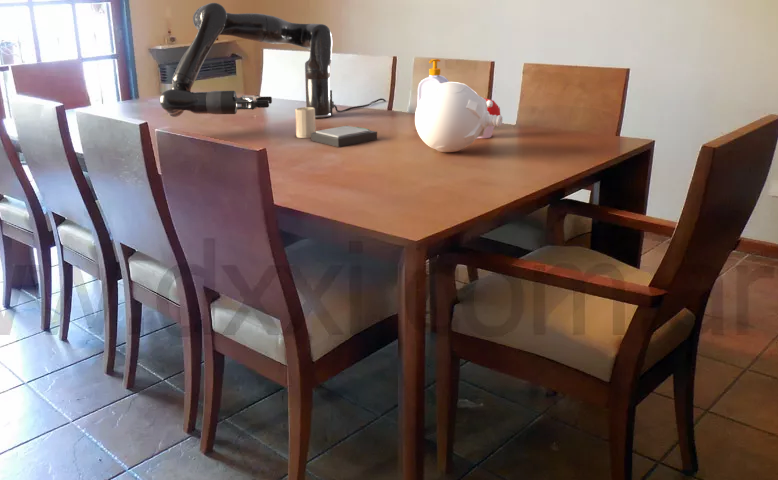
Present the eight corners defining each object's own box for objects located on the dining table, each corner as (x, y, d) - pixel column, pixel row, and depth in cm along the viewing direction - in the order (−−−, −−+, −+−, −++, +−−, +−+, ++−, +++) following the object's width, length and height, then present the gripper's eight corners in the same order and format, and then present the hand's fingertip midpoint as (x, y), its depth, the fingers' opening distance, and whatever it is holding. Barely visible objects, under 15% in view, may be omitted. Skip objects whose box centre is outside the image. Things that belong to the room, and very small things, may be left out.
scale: (349, 133, 229) (349, 124, 228) (377, 139, 219) (377, 129, 218) (311, 140, 221) (311, 130, 219) (338, 147, 210) (338, 137, 209)
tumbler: (307, 133, 232) (307, 106, 228) (319, 136, 227) (318, 108, 223) (292, 136, 228) (291, 108, 224) (303, 138, 223) (302, 111, 220)
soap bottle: (415, 131, 230) (417, 59, 220) (424, 127, 235) (427, 57, 225) (439, 133, 225) (442, 60, 215) (448, 129, 230) (452, 58, 221)
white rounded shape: (429, 142, 213) (432, 76, 205) (508, 149, 200) (515, 80, 192) (402, 155, 198) (404, 84, 190) (486, 163, 185) (492, 89, 177)
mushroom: (461, 133, 224) (463, 95, 219) (494, 132, 224) (497, 94, 219) (468, 140, 214) (470, 100, 209) (503, 138, 214) (506, 99, 209)
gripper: (216, 93, 216) (267, 93, 215) (224, 88, 229) (272, 87, 228) (218, 117, 219) (268, 117, 218) (226, 110, 232) (273, 110, 231)
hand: (270, 101), depth 223 cm, fingers open, 8 cm apart
